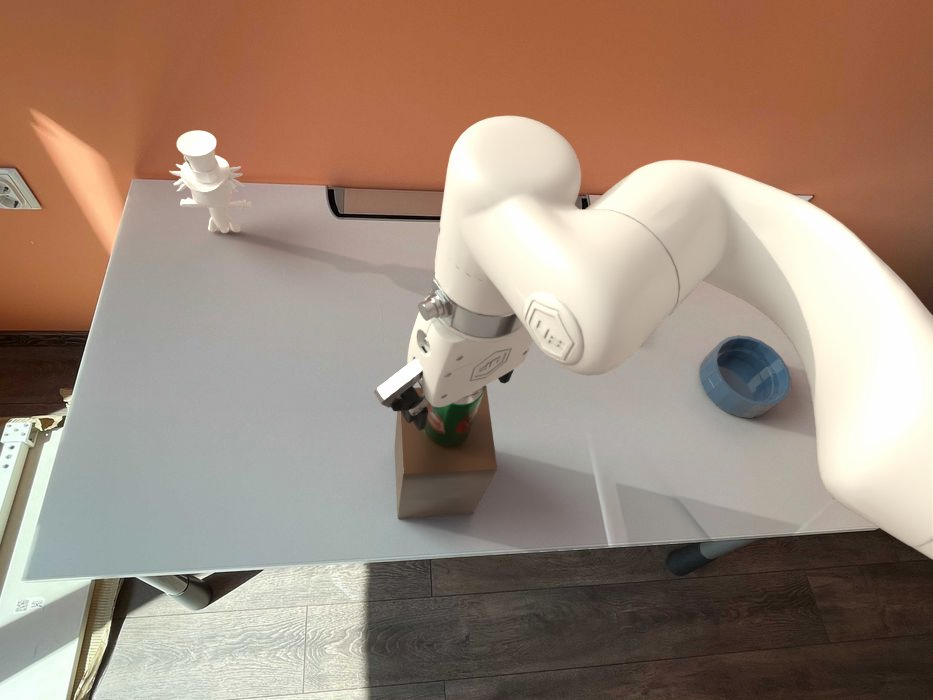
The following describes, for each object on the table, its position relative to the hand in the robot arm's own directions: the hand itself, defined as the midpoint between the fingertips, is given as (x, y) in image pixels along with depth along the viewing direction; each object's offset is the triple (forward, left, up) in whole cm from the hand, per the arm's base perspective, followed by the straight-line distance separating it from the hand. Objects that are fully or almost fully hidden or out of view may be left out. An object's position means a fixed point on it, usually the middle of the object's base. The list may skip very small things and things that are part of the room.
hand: (456, 393), depth 56 cm
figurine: (+53, +7, -27) cm, 60 cm away
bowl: (-12, -50, -26) cm, 58 cm away
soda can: (0, 0, -9) cm, 9 cm away
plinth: (0, 0, -26) cm, 27 cm away
